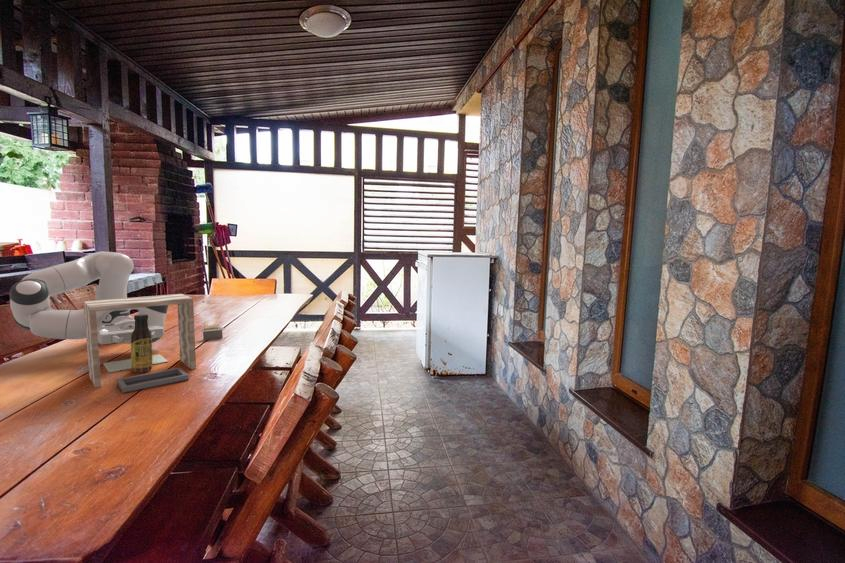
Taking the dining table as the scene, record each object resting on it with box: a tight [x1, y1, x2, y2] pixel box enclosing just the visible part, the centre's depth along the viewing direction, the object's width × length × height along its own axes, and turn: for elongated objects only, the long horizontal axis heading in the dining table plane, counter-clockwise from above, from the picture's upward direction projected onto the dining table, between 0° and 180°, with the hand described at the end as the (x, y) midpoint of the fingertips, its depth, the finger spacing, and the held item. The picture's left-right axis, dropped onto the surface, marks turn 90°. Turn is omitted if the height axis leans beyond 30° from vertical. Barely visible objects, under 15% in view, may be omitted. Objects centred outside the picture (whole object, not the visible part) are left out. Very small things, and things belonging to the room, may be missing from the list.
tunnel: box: [83, 293, 197, 389], centre depth 148 cm, size 14×29×26 cm, turn 134°
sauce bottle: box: [130, 314, 153, 374], centre depth 150 cm, size 6×6×20 cm
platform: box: [199, 324, 226, 341], centre depth 196 cm, size 12×18×7 cm, turn 123°
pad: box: [102, 353, 169, 373], centre depth 159 cm, size 12×18×1 cm, turn 134°
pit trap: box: [116, 367, 189, 394], centre depth 140 cm, size 10×18×2 cm, turn 134°
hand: (136, 338), depth 154 cm, fingers open, 8 cm apart
